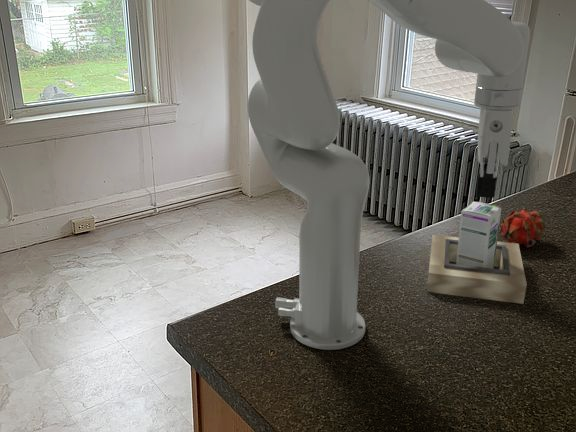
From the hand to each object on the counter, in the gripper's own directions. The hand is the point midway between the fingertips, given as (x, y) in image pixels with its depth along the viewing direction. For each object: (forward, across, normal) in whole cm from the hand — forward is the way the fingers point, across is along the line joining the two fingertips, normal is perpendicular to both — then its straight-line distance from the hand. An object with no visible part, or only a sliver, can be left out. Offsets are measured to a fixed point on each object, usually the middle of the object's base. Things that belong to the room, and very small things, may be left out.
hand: (484, 195), depth 110 cm
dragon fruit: (+17, +17, -10) cm, 26 cm away
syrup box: (+17, 0, 0) cm, 17 cm away
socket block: (+17, 0, 0) cm, 17 cm away
